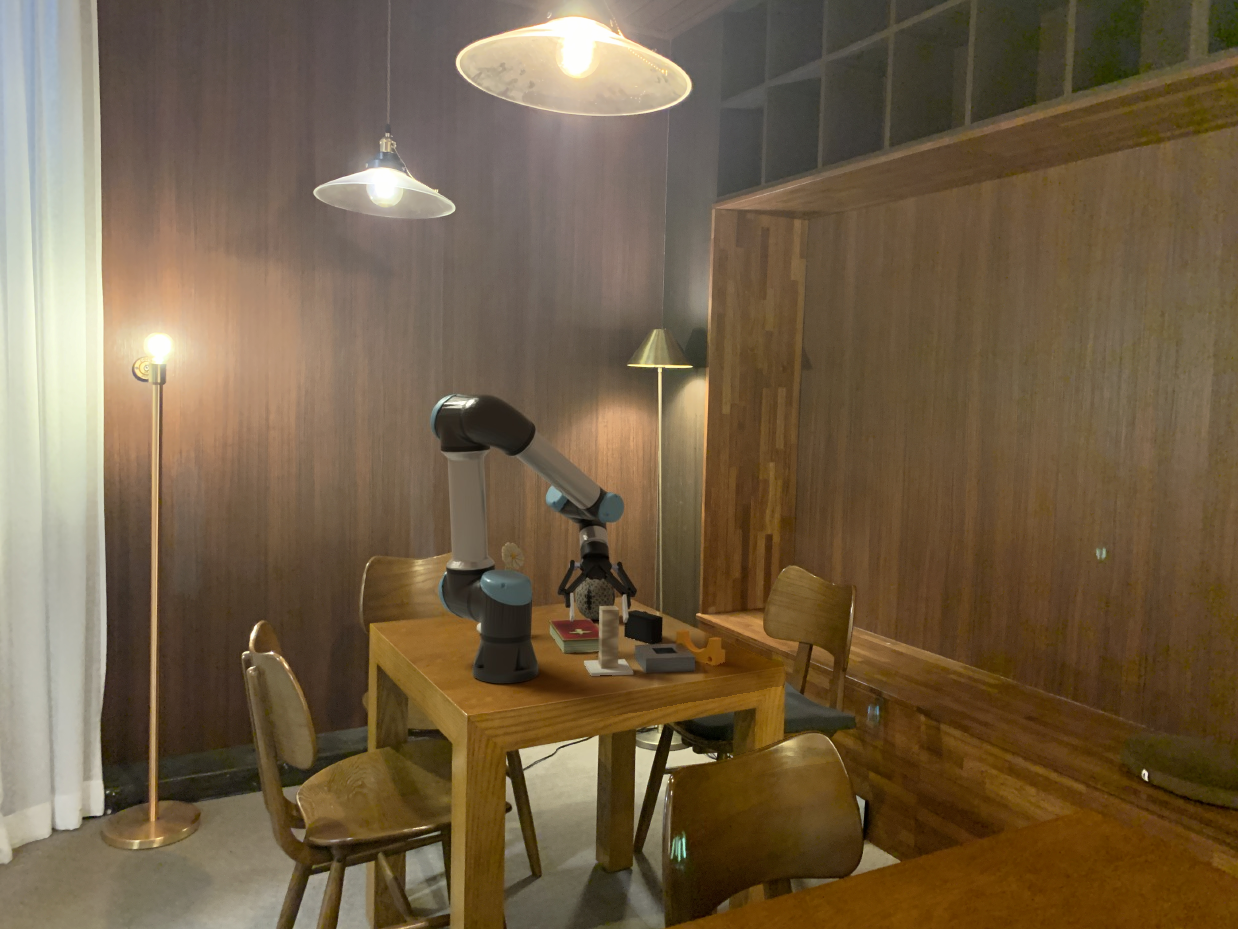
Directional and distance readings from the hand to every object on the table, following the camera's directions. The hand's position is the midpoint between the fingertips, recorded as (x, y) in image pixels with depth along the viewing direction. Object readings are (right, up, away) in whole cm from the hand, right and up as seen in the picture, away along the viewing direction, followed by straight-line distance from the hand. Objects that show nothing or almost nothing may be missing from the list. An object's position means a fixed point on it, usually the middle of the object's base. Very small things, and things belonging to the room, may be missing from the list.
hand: (599, 619), depth 223 cm
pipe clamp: (+25, -10, 0) cm, 27 cm away
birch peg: (+2, -9, -10) cm, 14 cm away
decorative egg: (-2, -7, +39) cm, 39 cm away
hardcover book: (-6, -9, +14) cm, 18 cm away
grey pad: (+2, -10, -10) cm, 14 cm away
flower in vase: (-27, -8, +21) cm, 35 cm away
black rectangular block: (+12, -9, +18) cm, 23 cm away
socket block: (+16, -10, -5) cm, 20 cm away
